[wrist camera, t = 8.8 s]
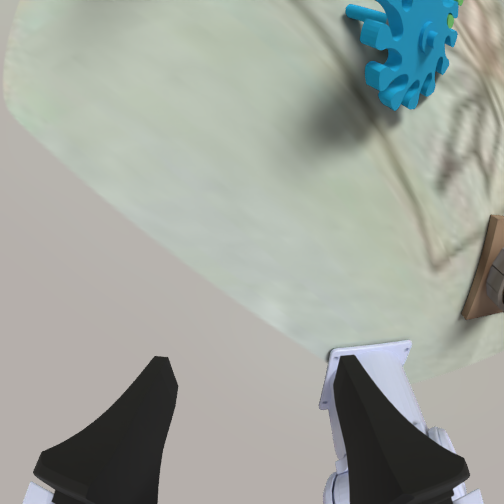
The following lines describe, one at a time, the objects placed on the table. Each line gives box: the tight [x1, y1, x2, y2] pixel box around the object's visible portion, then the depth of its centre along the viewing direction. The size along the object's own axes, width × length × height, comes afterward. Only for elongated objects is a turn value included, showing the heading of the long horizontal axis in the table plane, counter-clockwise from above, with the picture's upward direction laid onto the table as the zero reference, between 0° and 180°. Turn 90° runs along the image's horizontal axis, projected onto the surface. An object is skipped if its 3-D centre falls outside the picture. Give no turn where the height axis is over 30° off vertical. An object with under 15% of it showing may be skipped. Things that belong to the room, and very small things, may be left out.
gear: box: [346, 0, 463, 111], centre depth 10 cm, size 11×6×10 cm
